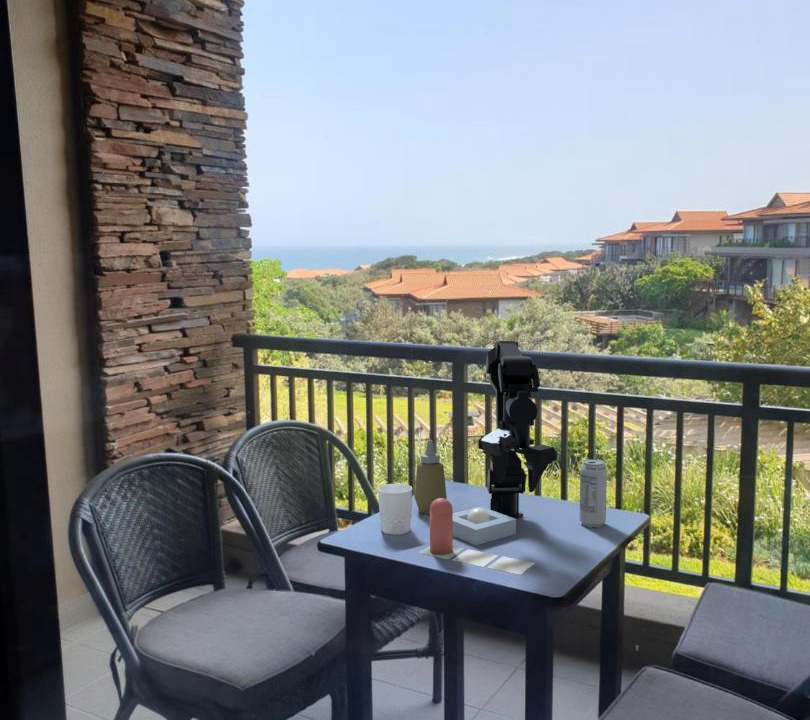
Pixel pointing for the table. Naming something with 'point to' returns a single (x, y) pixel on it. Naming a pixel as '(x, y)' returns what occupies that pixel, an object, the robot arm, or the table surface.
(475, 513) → the plunger
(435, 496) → the squeeze bottle
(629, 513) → the table surface
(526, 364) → the robot arm
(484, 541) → the button box
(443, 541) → the red domed cylinder
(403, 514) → the white cup
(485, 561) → the track
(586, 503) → the energy drink can
